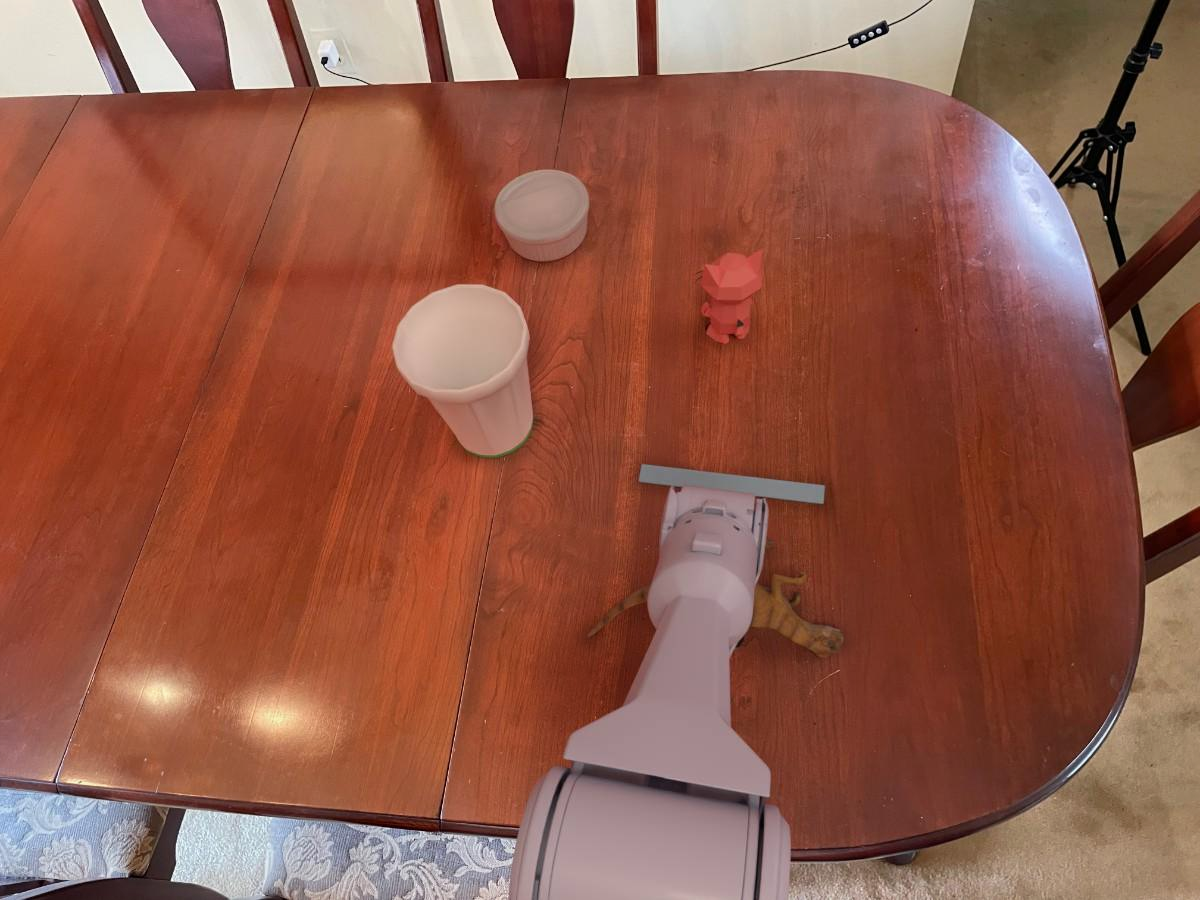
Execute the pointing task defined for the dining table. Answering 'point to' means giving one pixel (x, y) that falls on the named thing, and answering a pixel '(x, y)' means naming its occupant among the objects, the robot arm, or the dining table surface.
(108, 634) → the dining table surface
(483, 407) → the cup
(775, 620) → the dinosaur figurine
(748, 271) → the cat figurine
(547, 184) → the ramekin
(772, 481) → the tape line
